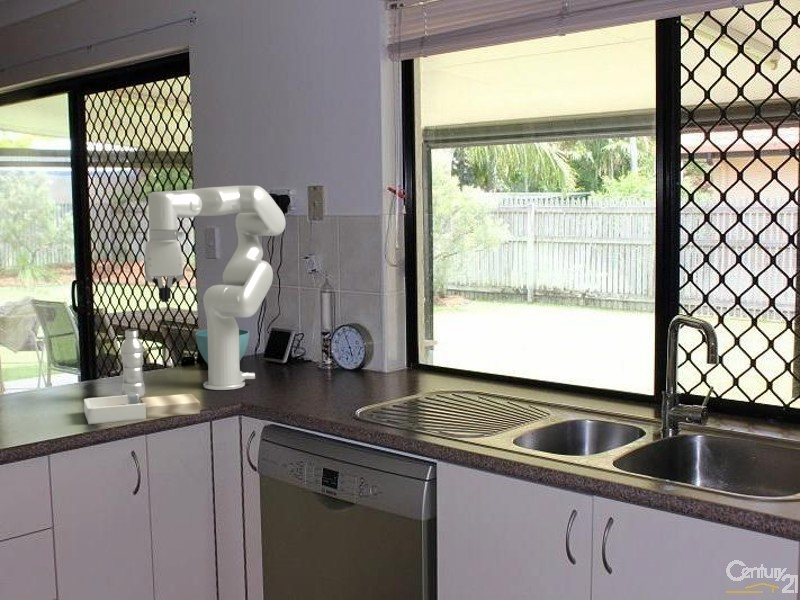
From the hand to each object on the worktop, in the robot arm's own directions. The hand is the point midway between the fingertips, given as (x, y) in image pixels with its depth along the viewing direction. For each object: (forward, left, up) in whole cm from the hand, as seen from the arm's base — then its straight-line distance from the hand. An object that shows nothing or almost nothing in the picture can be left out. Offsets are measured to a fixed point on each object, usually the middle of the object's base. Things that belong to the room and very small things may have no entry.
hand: (164, 301), depth 247 cm
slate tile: (+10, +10, -26) cm, 30 cm away
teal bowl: (-27, -48, -29) cm, 62 cm away
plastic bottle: (+8, -10, -29) cm, 32 cm away
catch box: (+15, +10, -29) cm, 34 cm away
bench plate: (+1, +10, -29) cm, 31 cm away
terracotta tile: (+15, +10, -27) cm, 32 cm away
